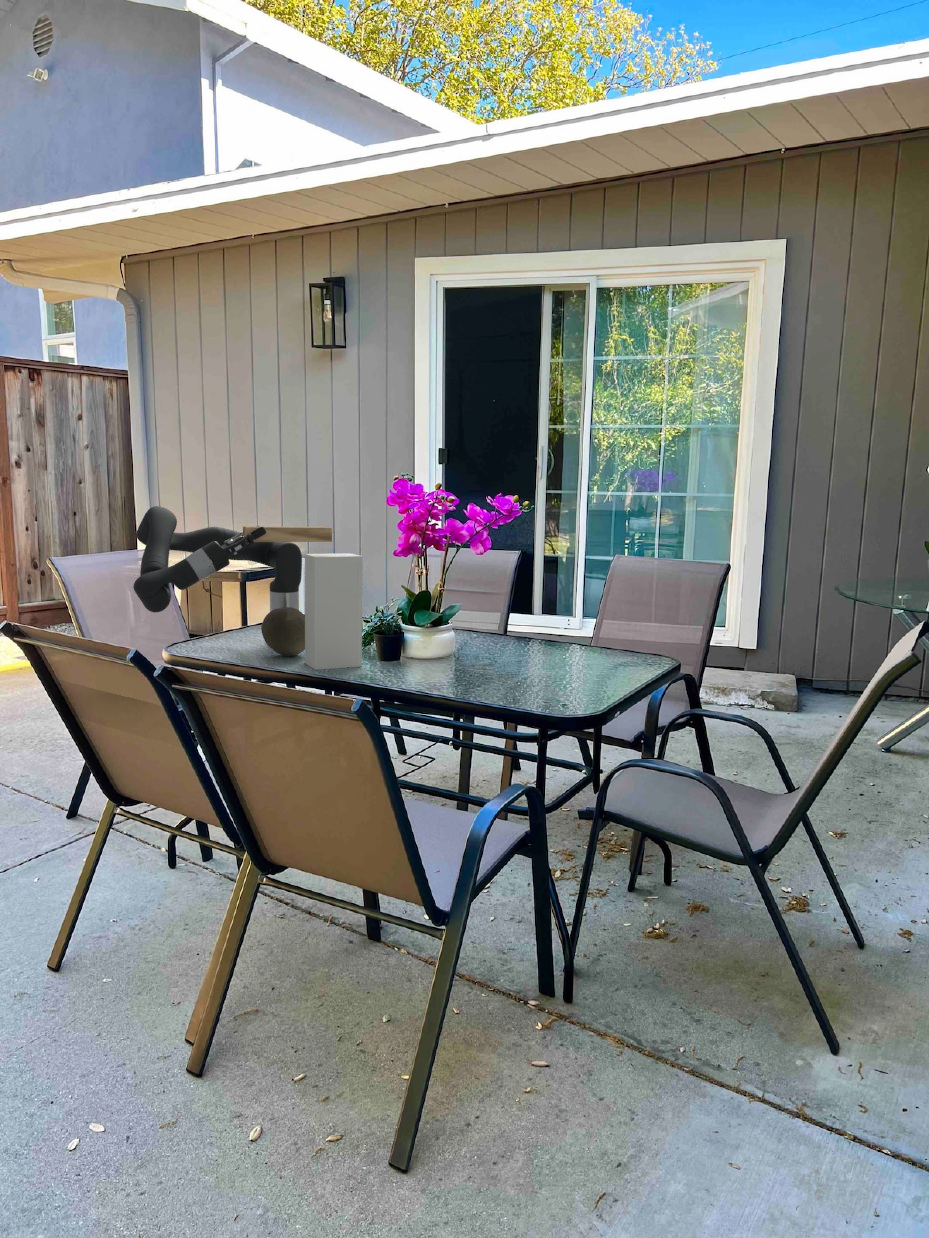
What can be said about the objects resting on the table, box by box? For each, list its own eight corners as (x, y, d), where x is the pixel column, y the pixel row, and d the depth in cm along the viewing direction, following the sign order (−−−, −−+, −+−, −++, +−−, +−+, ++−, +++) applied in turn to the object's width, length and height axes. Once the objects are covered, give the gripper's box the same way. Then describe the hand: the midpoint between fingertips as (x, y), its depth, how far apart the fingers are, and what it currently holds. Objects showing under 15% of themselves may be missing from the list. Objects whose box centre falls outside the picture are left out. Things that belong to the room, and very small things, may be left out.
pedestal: (305, 663, 257) (304, 553, 252) (350, 659, 263) (351, 553, 258) (314, 669, 248) (314, 556, 243) (361, 666, 254) (362, 556, 249)
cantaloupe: (296, 650, 276) (296, 603, 274) (318, 658, 265) (318, 608, 262) (254, 654, 267) (254, 605, 265) (275, 662, 256) (274, 612, 254)
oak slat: (243, 541, 241) (242, 526, 240) (327, 540, 251) (327, 526, 250) (246, 542, 237) (245, 527, 237) (331, 541, 247) (331, 527, 247)
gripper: (210, 570, 243) (263, 539, 248) (219, 575, 230) (275, 542, 236) (195, 546, 240) (250, 515, 246) (204, 551, 228) (261, 518, 233)
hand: (262, 529), depth 240 cm, fingers closed on oak slat, 4 cm apart
